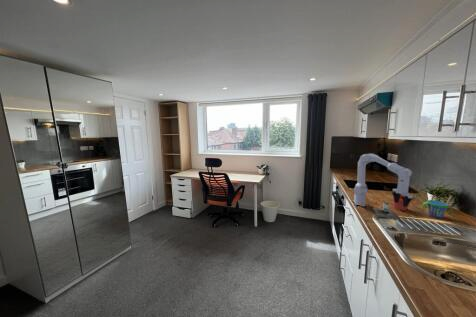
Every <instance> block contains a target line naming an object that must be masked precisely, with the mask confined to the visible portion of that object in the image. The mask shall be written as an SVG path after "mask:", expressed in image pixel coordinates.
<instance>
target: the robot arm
mask: <svg viewBox="0 0 476 317" xmlns="http://www.w3.org/2000/svg"><path fill="white" fill-rule="evenodd" d="M371 162H372V163H373V162H374V163H375V162H376V163H378V164H381V165H382V166H384V167H386V168H387V170H388V171H390V172H392V173H394V174H396V175H397V176H398V179H397V188H392V191H391V194H392V196H393V197H394V201H395V202H399V198H400V196H401V195H402V196H405V197H402V199H403V206H404V207H407V206H408V207H409V205H410V203H411V201H412V200H414V199H413V195H412V194H410V193H409V187H410V177H411V176H412V175H413V171H412V170H411V169H410V168H406V167H405V166H401V165H399V164H398V163H397V162H389V161H388V160H385V159H383V158H382V157H380V156H379V155H377V154H375V153H365V154H362V155H360V157H359V160H358V161H357V173H356V174H357V179H356V180H357V183H355V186H354V188H353V193H354V195H353V201H354V202H355V204H357V205H361V206H360V207H365V206H366V207H367V205H366V194H367V193H368V191H369V190H368V189H369V188H368V185H367V184H366V165H367V164H369V163H371ZM409 202H410V203H409ZM355 204H354V205H355ZM408 204H409V205H408Z"/></svg>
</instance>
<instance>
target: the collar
mask: <svg viewBox="0 0 476 317" xmlns="http://www.w3.org/2000/svg"><path fill="white" fill-rule="evenodd" d="M373 211H374V212H373ZM372 212H373V213H374V214H375V215H376V216H377V217H378V218H384V219H394V220H399V218H400V216H399V215H398V214H397V213H395V212H394V211H393V210H392V209H389V212H383V211H382V208H377V207H372Z"/></svg>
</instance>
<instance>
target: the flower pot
mask: <svg viewBox="0 0 476 317" xmlns="http://www.w3.org/2000/svg"><path fill="white" fill-rule="evenodd" d="M391 197H392V205H393V208H394V209H395V210H397V211H407V210H408V207H409V205H410V203H411V201H410V202H409V204H408V206H407V207H404V206H403V199H402V197H405V196H404V195H401V196H400V198H399V202H395V201H394V197H393V195H392V196H391Z"/></svg>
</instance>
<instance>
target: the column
mask: <svg viewBox="0 0 476 317" xmlns="http://www.w3.org/2000/svg"><path fill="white" fill-rule="evenodd" d="M389 208H390V202H386V201H383V202H382V207H381V209H382V211H383V212H389Z"/></svg>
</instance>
